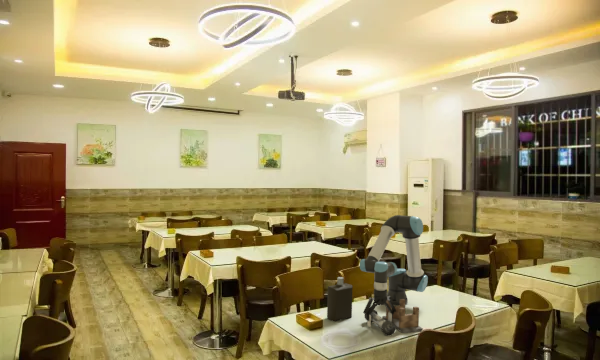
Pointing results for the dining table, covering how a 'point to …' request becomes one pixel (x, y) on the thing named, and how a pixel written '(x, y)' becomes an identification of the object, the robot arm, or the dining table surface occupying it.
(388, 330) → the dumbbell
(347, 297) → the bottle
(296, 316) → the dining table surface
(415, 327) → the rack
